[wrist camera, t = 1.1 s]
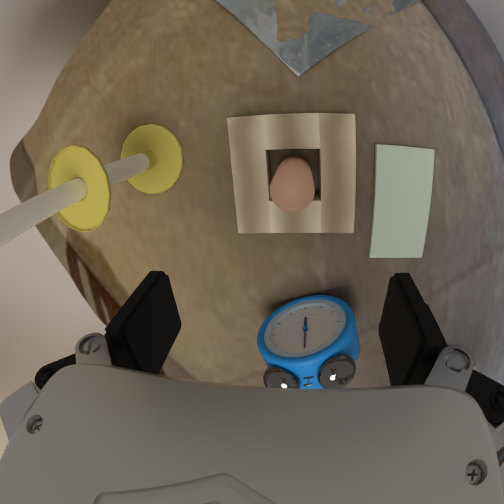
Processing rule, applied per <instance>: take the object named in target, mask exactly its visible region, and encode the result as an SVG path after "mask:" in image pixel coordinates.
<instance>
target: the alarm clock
mask: <svg viewBox="0 0 504 504" xmlns="http://www.w3.org/2000/svg"><path fill="white" fill-rule="evenodd" d="M257 345H258V349H259V351H260V353H261V355H262V357H263V359H264V361H265V362H266V364H267V366H268V368H267V369H266V370H265V372H264V375H263V381H264V384H265V386H266V387H268V388H292V389H319V388H322V387H323V388H325V389H341V388H343V387H344V386H346V385H347V384H348V383H349V382H350V381H351V380H352V379H353V377H354V374H355V371H356V364H355V362H356V360H357V358H358V355H359V350H360V343H359V337H358V332H357V328H356V323H355V318H354V314H353V311H352V309H351V308H350V306H349V305H348V304H347V303H346V302H344V301H343V300H341V299H339V298H337V297H334V296H329V294H327V295H311V296H306V297H302V298H299V299H296V300H293V301H291V302H288V303H286V304H284V305H283V306H281V307H280V308H278V309H277V310H275V311H274V312H273V313H272V314H271V315H269V316H268V318H267V319H266V320H265V321H264V322H263V324H262V326H261V327H260V330H259V332H258V336H257Z"/></svg>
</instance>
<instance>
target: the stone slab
mask: <svg viewBox="0 0 504 504" xmlns="http://www.w3.org/2000/svg"><path fill="white" fill-rule="evenodd" d="M216 1H217V2H218V3H220V4H221V5H222V6H224V7H225V8H226V9H227V10H229V11H230V12H231V13H232V14H233V15H234V16H236V17H237V18H238V19H239V20H240V21H241V22H242V23H243V24H244V25H245V26H246V27H247V28H249V29H250V30H251V31H252V32H253V33H254V34H255V35H256V36H257V37H258V38H259V39H260V40H261V41H262V42H263V43H264V44H265V45H266V46H267V47H268V48H269V49H271V50H272V51H273V52H274V53H275V54H276V55H277V56H278V57H279V58H280V59H281V60H282V61H283V62H284V63H285V64H286V65H287V66H288V67H289V68H290V69H291V70H292V71H293V72H294V73H295V74H296V76H297V77H298V76H300V75H301V74H302V73H304V72H305V71H306V70H308V69H309V68H310V67H312V66H313V65H314V64H316V63H317V62H319V61H320V60H321V59H323V58H324V57H326V56H327V55H329V54H330V53H331V52H333V51H334V50H336V49H337V48H339V47H340V46H342V45H343V44H345V43H346V42H348V41H350V40H351V39H353V38H354V37H356V36H358V35H359V34H361V33H363V32H365V31H366V30H368V29H370V28H371V27H373V26H366V25H365V24H363V23H361V22H358V21H352V20H347V19H342V18H337V17H335V16H332V15H329V14H322V13H315V14H313V15H312V16H311V17H310V18H309V22H308V25H309V26H310V27H309V33H308V34H307V33H305V34H303V36H302V37H301V38H299V39H296V40H291V39H288V38H287V39H286V40H287V41H285V42H279V41H278V39H277V30H278V29H277V27H278V26H277V19H276V11H275V10H274V0H216ZM347 1H349V0H336V6H338V7H339V6H341V5H343V4H344V3H346V2H347ZM419 1H421V0H394V1H393V2H392V5H393V6H394V8H395V12H393V11H391V12H389V13H386V14H385V15H393V14H396V13H398V12H400V11H402V10H403V9H405V8H407V7H409V6H411V5H413V4H415V3H417V2H419ZM370 10H371V7H370V6H367V7H365V8H363V13H368V12H369V11H370Z"/></svg>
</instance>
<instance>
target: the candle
mask: <svg viewBox="0 0 504 504" xmlns="http://www.w3.org/2000/svg"><path fill="white" fill-rule="evenodd" d="M120 159H121V160H118V161H115V162H112V163H109V164H106V165H104V166H103V164H102V162H101V160H100V159H99V158H98V157H97V156H96V155H95V154H94V153H93V152H92V151H90V150H89V149H88V148H85V147H81V146H77V145H73V146H70V147H67V148H64V149H62V150H61V151H60V152H59V153H58V154H57V155H56V156H55V157H54V159H53V161H52V164H51V167H50V170H49V177H48V189H49V190H48V191H46V192H43V193H41V194H39V195H37V196H35V197H33V198H31V199H29V200H27V201H25V202H23V203H21V204H19V205H18V206H15V207H13V208H11V209H10V210H8V211H6V212H4V213H2V214H0V248H1V247H2V246H4V245H5V244H6V243H8V242H9V241H11V240H12V239H14V238H16V237H17V236H19V235H20V234H22V233H23V232H25V231H27V230H28V229H30V228H31V227H33V226H35V225H36V224H38V223H40V222H41V221H43V220H45V219H47V218H48V217H50V216H52V215H54V214H55V213H57V214H58V216H59V217H60V218H61V219H62V220H63V221H64V222H65V223H66V224H67V225H68V226H69V227H71V228H73V229H75V230H77V231H79V232H85V231H92V230H94V229H95V228H97V227H98V226H100V225H101V224H102V223H103V222H104V220H105V218H106V216H107V214H108V212H109V210H110V200H111V189H110V187H111V186H113V185H115V184H118V183H120V182H122V181H124V180H126V179H127V180H128V182H129V183H130V184H132V185H133V186H134V187H135V188H136V189H137V190H139V191H142V192H145V193H148V194H155V193H162V192H164V191H165V190H167V189H169V188H171V187H172V186H173V185H174V184H175V182H176V181H177V180H178V178H179V177H180V175H181V171H182V167H183V163H184V160H183V152H182V147H181V145H180V143H179V141H178V139H177V137H176V135H175V134H173V133H172V132H171V131H170V130H168V129H167V128H166V127H165V126H161V125H157V124H153V123H152V124H147V125H142V126H139V127H138V128H136V129H135V130H134V131H132V132H131V133H130V134H129V135H128V137H127V138H126V140H125V142H124V144H123V146H122V151H121V157H120Z"/></svg>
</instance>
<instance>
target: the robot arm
mask: <svg viewBox="0 0 504 504" xmlns="http://www.w3.org/2000/svg"><path fill="white" fill-rule="evenodd" d="M180 329H181V320H180V316H179V313H178V309H177V306H176V302H175V299H174V295H173V291H172V288H171V284H170V280H169V277H168V275H165V273H164V272H163V271H150V272H149V273H148V275H147V276H146V277H145V278H144V280H143V281H142V282H141V283H140V285H139V286H138V287H137V288H136V289H135V291H134V292H133V293H132V295H131V296H130V297H129V298H128V300H127V301H126V302H125V303H124V305H123V306H122V307H121V309H120V310H119V311H118V312H117V314H116V315H115V316H114V318H113V319H112V320H111V322H110V323H109V324H108V326H107V327H106V328H105V330H106V334H105V335H102V334H100V333H91V334H88V335H86V336H84V337H82V338H81V339H80V340H79V341H78V342H77V344H76V347H75V354H72V355H70V356H68V357H65V358H63V359H60V360H58V361H55V362H53V363H50V364H47V365H45V366H43V367H42V368H41V369H40V370H39V371H38V372H37V374H36V376H35V382H34V383H33V382H32V381H30V382H28V383H27V384H26V385H24V386H23V387H21V388H20V389H18V390H17V391H16V392H14V393H13V394H11V395H10V396H8V397H7V398H6V399H5V400H3V401H2V403H1V405H0V416H1V418H2V422H3V425H4V428H5V430H6V433H7V436H8V439H9V443H8V445H7V447H6V449H5V452H4V453H3V456H2V457H1V460H0V504H504V386H503V385H501V384H499V383H498V382H496V381H494V380H492V379H490V378H488V377H487V376H485V375H483V374H481V373H479V372H478V371H476V366H475V365H474V360H473V357H472V355H471V354H470V353H469V352H468V351H467V350H466V349H465V348H463V347H460V346H456V345H451V346H447V343H446V341H445V339H444V337H443V335H442V332H441V330H440V328H439V326H438V324H437V322H436V320H435V318H434V316H433V314H432V312H431V310H430V308H429V306H428V305H427V304H426V303H425V302H424V300H423V298H422V296H421V294H420V292H419V291H418V289H417V287H416V285H415V283H414V281H413V279H412V278H411V276H410V274H409V273H395V275H394V276H393V277H390V280H389V285H388V290H387V295H386V300H385V304H384V308H383V313H382V317H381V321H380V325H379V336H380V340H381V344H382V348H383V352H384V356H385V360H386V365H387V369H388V374H389V378H390V383H391V386H385V387H369V388H344V389H292V388H268V387H253V386H240V385H229V384H220V383H211V382H203V381H196V380H189V379H182V378H175V377H169V376H164V375H158V374H159V372H160V370H161V368H162V366H163V363H164V361H165V359H166V357H167V355H168V353H169V351H170V349H171V347H172V345H173V343H174V341H175V339H176V337H177V335H178V333H179V331H180Z"/></svg>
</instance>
